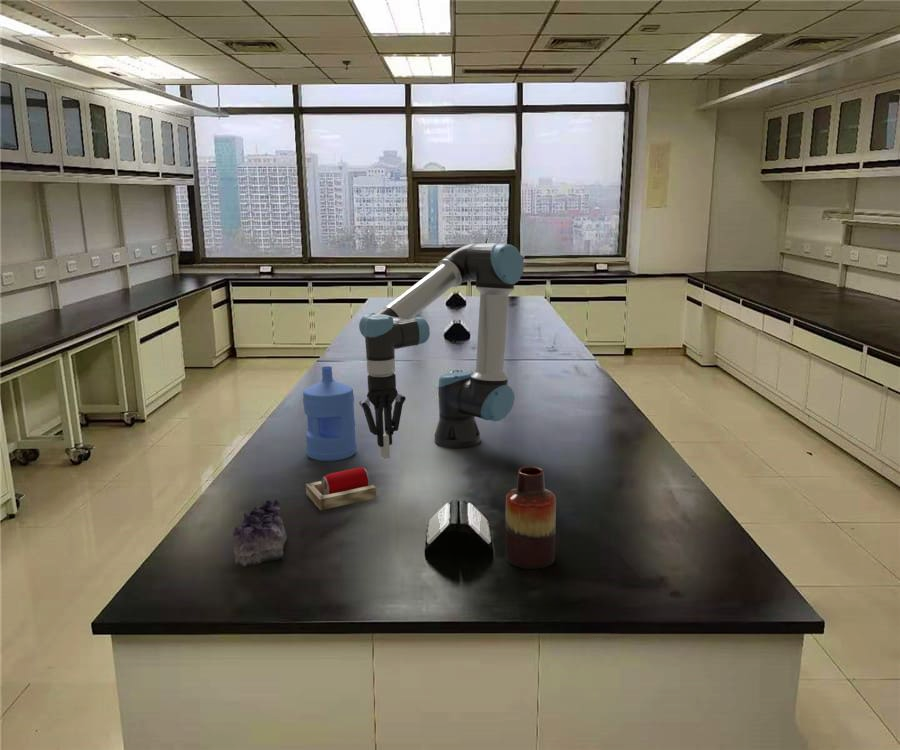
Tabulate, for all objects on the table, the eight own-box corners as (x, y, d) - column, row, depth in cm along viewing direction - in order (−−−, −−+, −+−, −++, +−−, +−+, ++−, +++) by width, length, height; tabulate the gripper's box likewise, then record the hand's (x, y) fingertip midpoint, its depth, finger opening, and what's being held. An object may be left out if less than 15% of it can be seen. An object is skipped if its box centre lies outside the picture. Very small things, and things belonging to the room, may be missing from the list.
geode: (241, 531, 171) (243, 492, 170) (290, 533, 173) (293, 494, 171) (226, 569, 152) (229, 525, 150) (281, 571, 153) (284, 528, 152)
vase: (564, 556, 156) (566, 469, 151) (536, 575, 148) (537, 484, 143) (524, 541, 163) (525, 458, 158) (495, 559, 155) (495, 472, 150)
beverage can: (360, 475, 198) (319, 483, 192) (364, 462, 194) (322, 470, 188) (367, 493, 194) (326, 502, 189) (372, 480, 190) (330, 489, 184)
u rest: (359, 483, 199) (359, 473, 199) (376, 497, 189) (375, 487, 188) (306, 494, 192) (305, 484, 191) (320, 510, 182) (319, 499, 181)
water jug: (328, 442, 234) (323, 360, 228) (366, 450, 226) (362, 365, 220) (296, 457, 221) (290, 370, 215) (335, 465, 213) (329, 375, 207)
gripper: (397, 367, 195) (401, 448, 201) (353, 374, 189) (358, 457, 195) (409, 373, 189) (412, 456, 195) (363, 379, 183) (368, 465, 189)
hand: (385, 456), depth 195 cm, fingers closed
